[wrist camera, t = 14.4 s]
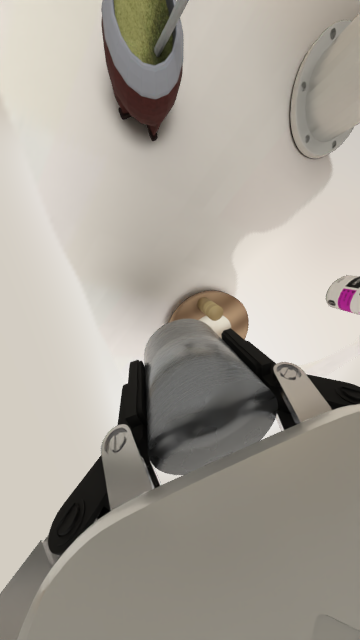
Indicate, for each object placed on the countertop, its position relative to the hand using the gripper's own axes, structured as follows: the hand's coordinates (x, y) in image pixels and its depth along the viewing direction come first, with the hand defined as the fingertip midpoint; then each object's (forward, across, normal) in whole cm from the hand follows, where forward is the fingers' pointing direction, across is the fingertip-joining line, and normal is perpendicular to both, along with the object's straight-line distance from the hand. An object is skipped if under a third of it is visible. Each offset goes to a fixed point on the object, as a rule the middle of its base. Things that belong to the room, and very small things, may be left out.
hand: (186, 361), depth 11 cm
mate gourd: (+20, -6, -23) cm, 31 cm away
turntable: (+18, -8, +10) cm, 22 cm away
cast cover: (+1, 0, 0) cm, 1 cm away
